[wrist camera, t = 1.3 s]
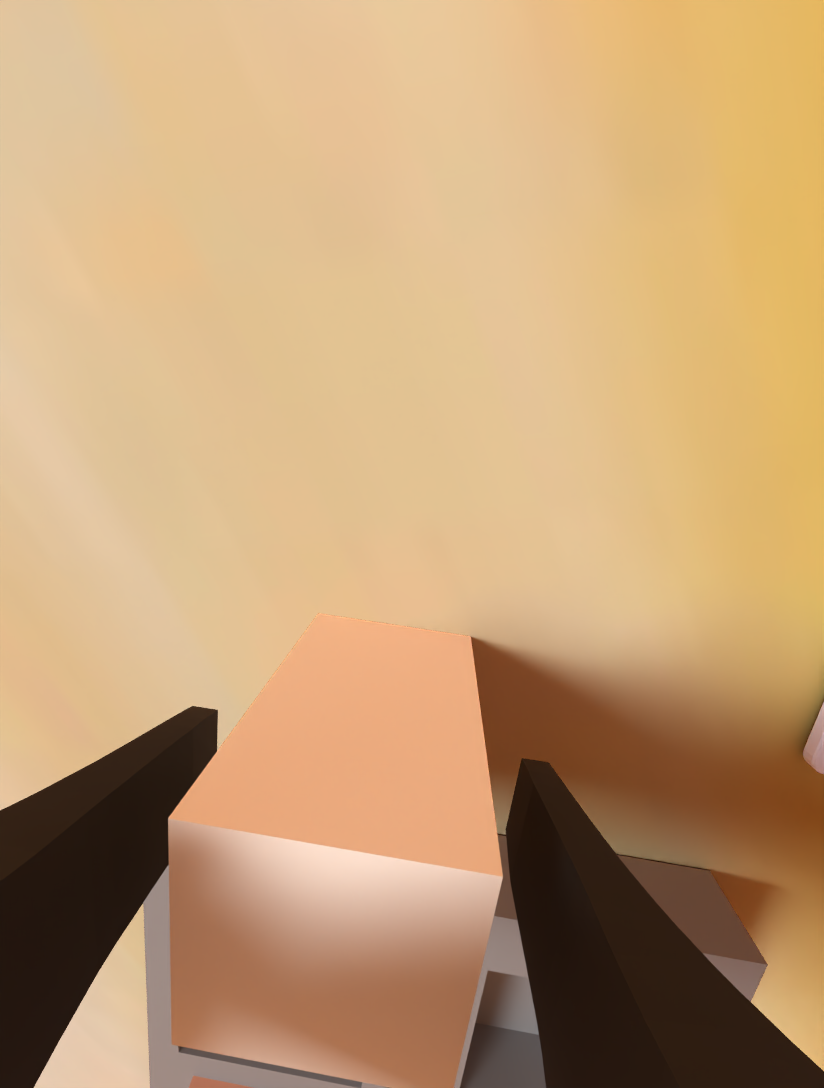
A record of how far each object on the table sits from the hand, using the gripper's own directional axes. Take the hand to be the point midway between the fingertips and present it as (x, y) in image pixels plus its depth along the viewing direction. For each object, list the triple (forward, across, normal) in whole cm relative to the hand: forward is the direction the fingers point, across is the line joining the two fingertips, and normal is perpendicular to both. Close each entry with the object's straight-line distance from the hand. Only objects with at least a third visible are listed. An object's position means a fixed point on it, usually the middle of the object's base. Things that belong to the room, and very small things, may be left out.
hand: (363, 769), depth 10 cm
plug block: (+3, 0, 0) cm, 3 cm away
